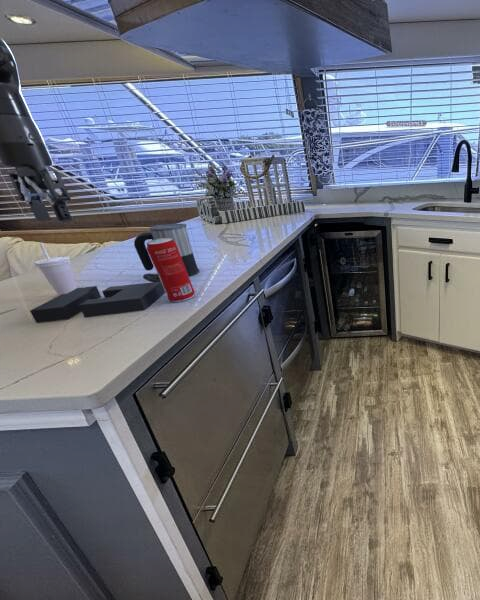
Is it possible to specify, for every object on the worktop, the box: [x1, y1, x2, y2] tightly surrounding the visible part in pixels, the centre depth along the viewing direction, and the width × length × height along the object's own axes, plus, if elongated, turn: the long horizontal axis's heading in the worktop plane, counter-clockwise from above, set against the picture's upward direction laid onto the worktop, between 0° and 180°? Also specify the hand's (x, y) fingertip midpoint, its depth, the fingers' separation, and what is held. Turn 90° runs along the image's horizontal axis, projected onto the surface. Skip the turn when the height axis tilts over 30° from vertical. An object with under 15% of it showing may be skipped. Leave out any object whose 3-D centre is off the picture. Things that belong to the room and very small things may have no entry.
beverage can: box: [146, 238, 196, 303], centre depth 77 cm, size 6×6×15 cm
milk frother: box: [133, 223, 200, 283], centre depth 93 cm, size 14×16×15 cm
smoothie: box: [34, 243, 78, 297], centre depth 83 cm, size 6×6×14 cm
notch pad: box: [79, 281, 166, 318], centre depth 78 cm, size 12×12×3 cm
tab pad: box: [29, 285, 102, 324], centre depth 76 cm, size 14×6×3 cm, turn 14°
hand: (55, 221), depth 72 cm, fingers open, 8 cm apart
